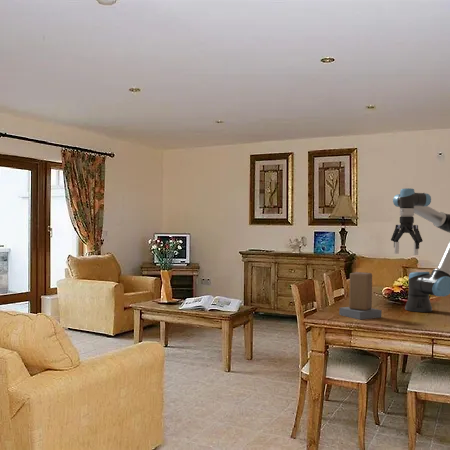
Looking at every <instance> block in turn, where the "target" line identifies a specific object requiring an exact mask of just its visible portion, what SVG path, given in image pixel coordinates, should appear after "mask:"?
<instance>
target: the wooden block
mask: <svg viewBox="0 0 450 450" xmlns="http://www.w3.org/2000/svg"><path fill="white" fill-rule="evenodd" d="M348 295H349V299H348V300H349V301H348V303H349V305H348V307H349V308H350V309H355V310H364V311H366V310H368V309H371V308H373V306H372V304H373V303H372V302H373V299H372V298H373V273H371V272H362V271H355V272H351V273H349V294H348Z"/></svg>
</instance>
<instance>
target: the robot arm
mask: <svg viewBox="0 0 450 450" xmlns="http://www.w3.org/2000/svg"><path fill="white" fill-rule="evenodd" d="M392 203H393V205H394V206H395V207H398V208H399V216H400V217H399V224H395V228H394V231H393V233H392V235H391V238H390V241H392V242H393V248H394V253H393V254H395V255H396V254H399V253H400V241H399V240H400V239H401V238H402V236H403V235H404V234H409V235H410V237H411V238H412V240H413V241H414V242H413V256H418V255H419V249H420V243H422V242H423V238H422V235H421V232H420V230H419V225H418V224H414V222H415V218H414V216H415V215H417V216H419V217H421V218H423V219H424V220H427V221H428V222H430V223H431V224H432V225H433V226H434V227H436V228H437V229H440V230H441V231H444V232H447V233H450V213H445V212H444V211H438V210H436V209H435V208H432V207H430V204H431V203H432V196H431V195H430V194H429V193H427V192H426V193H425V192H415V189H414V188H412V187H411V188H401V189H400V193H399V194H398V193H397V194H395V195H394V196H393V199H392ZM443 251H444V252H443V254H442V256H441V259H440V260H439V263H438V264H437V266H436V268H433V270H432V271H431V273H430V271H416V272H413V271H412V272H410V273H409V274H408V297H407V300H406V303H405V306H404V309H405V311H409V312H414V313H431V312H433V306H432V304H431V299H430V295H431V296H436V297H447V296H449V295H450V240H449V241H448V242H447V245H446V248H445V250H443Z"/></svg>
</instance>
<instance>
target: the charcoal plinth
mask: <svg viewBox="0 0 450 450" xmlns="http://www.w3.org/2000/svg"><path fill="white" fill-rule="evenodd" d="M338 308H339V311H338V314H339V316H343V317H347V318H351V319H357V320H361V321H362V320H369V319H379V318H382V313H383V312H382V309H377V308H373V307H371V309H368V310H366V311H364V310H355V309H350V308H349V306H344V307H343V306H342V307H338Z"/></svg>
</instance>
